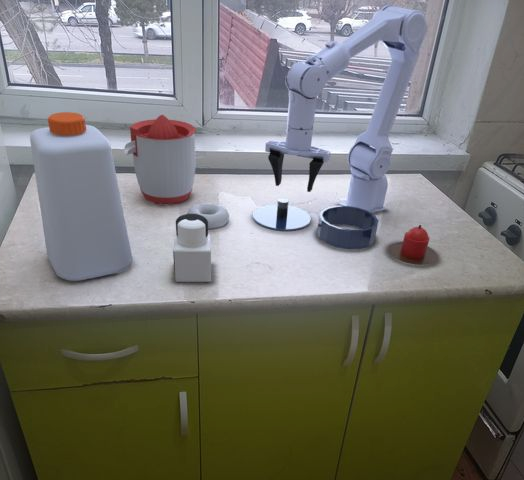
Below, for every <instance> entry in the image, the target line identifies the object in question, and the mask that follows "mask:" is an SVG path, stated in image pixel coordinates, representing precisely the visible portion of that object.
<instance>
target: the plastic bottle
mask: <svg viewBox="0 0 524 480" xmlns="http://www.w3.org/2000/svg"><path fill="white" fill-rule="evenodd" d="M47 124H48V127H41V128H36V129H35V130H33V131H32V132H30V133H31V134H30V136H29V142H30V148H31V155H32V161H33V162H32V163H33V168H34V175H35V182H36V183H35V184H36V187H37V195H38V202H39V211H40V217H41V223H42V229H43V237H44V243H45V249H46V255H47V258H48V260H49V262H50V264H51V266H52V268H53V270H54V272H55V274H56V275H57V276H58V277H59V278H61V279H63V280H66V281H71V282H79V281H85V280H90V279H94V278H95V279H96V278H99V277H104V276H109V275H114V274H119V273H122V272H124V271H126V270H128V268H130V267H131V265H132V263H133V255H132V250H131V244H130V238H129V234H128V228H127V223H126V218H125V213H124V208H123V203H122V198H121V192H120V187H119V182H118V177H117V172H116V166H115V161H114V156H113V150H112V146H111V145H112V144H111V143H110V141H109V140H108V138H107V137H106V136H105V135H104V134H103V133H102V132H101V130H99V129H98V128H97V127H95V126H94V125H89V124H86V119H85V117H84V116H83V115H82V114H80V113H77V112H69V111H67V112H66V111H64V112H63V111H62V112H57V113H52V114H50V115H49V116H48V118H47Z"/></svg>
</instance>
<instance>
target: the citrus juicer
mask: <svg viewBox="0 0 524 480" xmlns="http://www.w3.org/2000/svg"><path fill="white" fill-rule="evenodd" d="M129 130H130V141H129V142H128V143H126V144H125V145H124V150H123V153H124V155H126V156H127V155H132V159H133V168H134V174H135V178H136V180H137V183H138V186H139V190H140V192H141V194H142V196H143V197H144V199H145V200H146V201H147V202H150V203H153V204H155V205H174V204H179V203H182V202H183V203H184V202H186V201H187V200H188V199H189V198H190V196H191V194H192V192H193V187H194V183H195V176H196V134H195V133H197V129H196V127H195V126H194V125H192V124H191V123H188V122H185V121H181V120H177V119H176V120H175V119H169V118H168V117H167V116H165V115H164V114H160V115H159V116H158V117H156V119H146V120H141V121H138V122H135V123H133V124H131V125H130V126H129Z"/></svg>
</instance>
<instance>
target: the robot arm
mask: <svg viewBox="0 0 524 480" xmlns="http://www.w3.org/2000/svg"><path fill="white" fill-rule="evenodd" d="M428 29H429V27H428V24H427V20H426V16H425V13H424V12H423V11H421V10H419V9H410V8H404V7H399V6H395V5H393V4H387V5H384V6H383V7H382V8H381V9H378V10H377V11H375V12H374V14H373V16H372V18H371V19H369V20H368V21H367V22H366V23H365V24H363V25H362V26H361V27H360V28H358V29H357V30H356V31H355V32H353V33H352V34H350V36H348V37H347V38H346V39H344V40H343V41H342V42H340V41H338V40H334V41H332V40H328V41H327V42H325V47H323V48H321V49H320V50H319V51H318V52H316V53H315V54H313V55H312V54H310V55H309V56H308V57H307V58H306V60H305V61H297V62H295V63H293V64H292V66H290V68H289V70H288V72H287V75H286V76H285V77H284V83H285V86H286V88H287V90H288V91H287V92H288V94H287V95H288V96H287V97H288V98H289V99H288V109H287V119H286V132H285V141H277V140H276V141H275V140H267V141H266V142H265V150H264V151H265V152H266V153H269V155H268V156H267V160H268V161H269V164H270V166H271V168H272V172H273V176H274V182H275V187H279V186H280V185H281V184H282V176H283V164H284V158H285V155H288V156H294V157H299V158H300V157H301V158H305V159H312V160H311V161H310V162H309V170H308V171H309V173H308V181H307V187H306V188H307V190H306V192H307V193H311V192H312V190H313V187H314V184H315V181H316V179H317V176H318V174H319V173H320V171H321V168H322V167H323V165H324V163H329V161H330V159H331V152H332V151H331V150H326V149H323V148H319V147H316V146H313V145H312V142H313V132H314V124H315V116H316V108H317V99H318V96H320V95H321V94H322V93H323V90H324V88H325V86H326V85H327V84H328V82H329V81H331V80H332V79H333V78H335V77H336V76H338V75H339V74H340V73H342V72H343V71H345V70H346V69H348V67H349V65H350V61H351V59H352V58H353V57H356V56H357V55H359V54H360V53H362V52H364V51H365V50H368V49H369V48H370V47H372V46H373V45H375V44H377V43H378V42H380V41H381V42H382V44H383V45H384V46H385V47H386V49H387V50H388V53H389V55H390V57H391V61H390V64H389V66H388V69H387V72H386V75H385V78H384V82H383V83H382V86H381V89H380V92H379V95H378V98H377V100H376V103H375V106H374V109H373V111H372V114H371V116H370V117H371V118H370V120H369V123H368V126H367V129H366V131H364V132H362V133H360V134H359V135H357V136H356V139H355V142H354V143H353V145H352V146H351V148H350V149H349V151H348V154H347V164H348V165H349V166H350V169H349V171H350V172H351V174H350V181H349V184H348V192H347V198H346V201H342V202H341V201H340V202H339V203H338V204H339V205H340V206H351V207H358V208H361V209H364V210H367V211H369V212H370V213H374V212H379V211H384V210H386V208H385V200H386V196H387V191H388V186H389V184H388V183H389V182H388V178H387V176H386V174H387V172H388V171H389V169H390V166H391V156H392V154H393V151H394V150H393V149H394V148H393V146H392V144H391V141H390V140H389V137H390V134H391V131H392V129H393V127H394V124H395V121H396V118H397V116H398V113H399V110H400V107H401V105H402V102H403V100H404V97H405V94H406V92H407V89H408V86H409V84H410V82H411V79H412V76H413V73H414V71H415V68H416V66H417V63H418V61H419V57H420V53H421V52H420V51H421V48H422V44H423V43H424V39H425V38H426V35H427V32H428Z"/></svg>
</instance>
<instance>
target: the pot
mask: <svg viewBox="0 0 524 480" xmlns="http://www.w3.org/2000/svg"><path fill="white" fill-rule="evenodd" d="M336 225H347V226H352V227H356V228H359V229H349V228H345V227H339V226H336ZM378 226H379V219H378V217H377V216H376V215H375V214H374V213H373V212H371V213H370V212H369V211H367V210H364V209H361V208H358V207H351V206H342V205H333V206H328V207H325V208H324V209H322V210H320V212H319V215H318V222H317V229H316V235H317V236H318V237H317V238H318V239H319V240H321V241H322V242H324V243H325V244H327V245H329V246H332V247H334V248H338V249H343V250H362V249H365V248H370V246H372V245H373V244H374V243H375V239H376V236H377V231H378Z"/></svg>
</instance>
